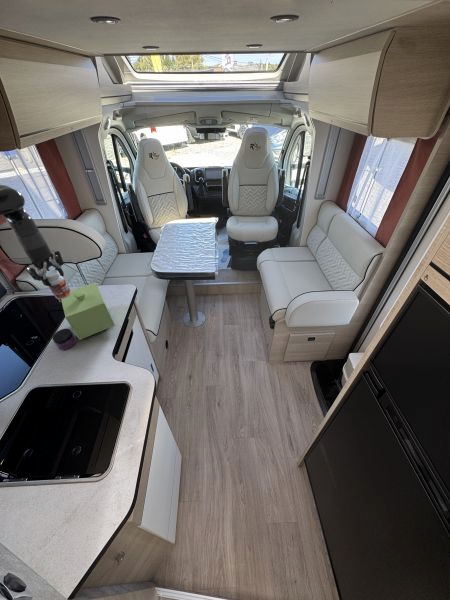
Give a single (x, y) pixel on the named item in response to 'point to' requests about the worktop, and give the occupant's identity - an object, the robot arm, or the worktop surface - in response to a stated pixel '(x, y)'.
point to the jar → (67, 343)
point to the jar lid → (62, 336)
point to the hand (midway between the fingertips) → (55, 280)
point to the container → (87, 311)
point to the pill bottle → (58, 284)
